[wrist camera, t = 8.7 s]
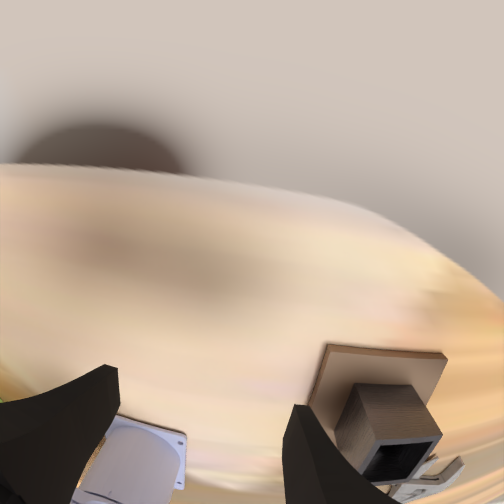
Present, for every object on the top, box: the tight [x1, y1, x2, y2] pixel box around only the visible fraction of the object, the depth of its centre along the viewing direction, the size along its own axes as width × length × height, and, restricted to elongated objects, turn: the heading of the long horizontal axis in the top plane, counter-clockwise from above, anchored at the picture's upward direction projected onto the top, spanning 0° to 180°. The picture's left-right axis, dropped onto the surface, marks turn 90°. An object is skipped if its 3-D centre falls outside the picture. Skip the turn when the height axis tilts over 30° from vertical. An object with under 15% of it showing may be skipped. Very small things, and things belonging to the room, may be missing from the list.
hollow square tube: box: [334, 383, 443, 486], centre depth 17 cm, size 5×5×6 cm
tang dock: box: [308, 344, 448, 449], centre depth 20 cm, size 10×10×4 cm
